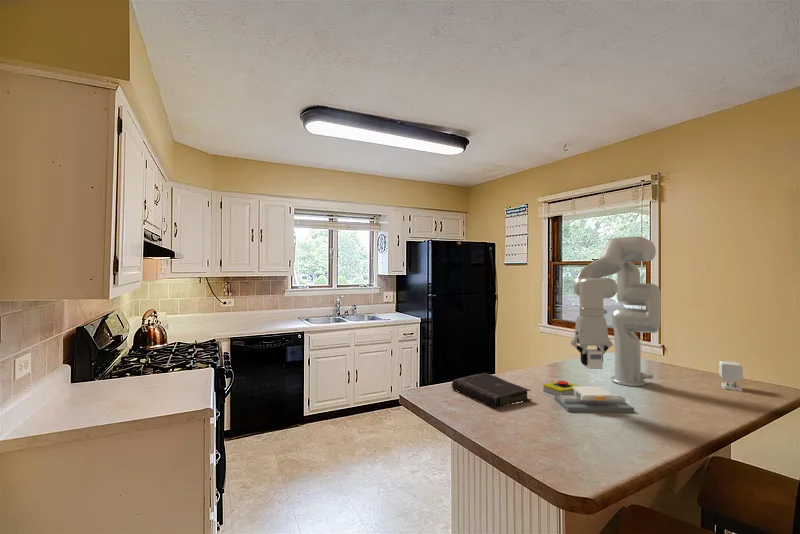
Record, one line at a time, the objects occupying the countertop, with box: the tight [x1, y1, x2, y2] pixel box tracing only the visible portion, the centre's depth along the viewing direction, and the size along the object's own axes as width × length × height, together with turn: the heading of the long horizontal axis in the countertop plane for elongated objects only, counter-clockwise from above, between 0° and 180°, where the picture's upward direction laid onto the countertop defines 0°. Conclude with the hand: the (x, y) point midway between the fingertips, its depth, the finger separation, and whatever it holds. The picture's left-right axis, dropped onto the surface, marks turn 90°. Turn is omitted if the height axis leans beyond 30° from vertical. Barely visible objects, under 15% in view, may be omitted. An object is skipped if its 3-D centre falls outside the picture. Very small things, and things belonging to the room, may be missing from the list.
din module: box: [581, 347, 604, 370], centre depth 134 cm, size 4×6×6 cm
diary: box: [451, 372, 532, 410], centre depth 146 cm, size 19×25×5 cm
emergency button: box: [538, 380, 579, 399], centre depth 149 cm, size 9×4×15 cm
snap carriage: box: [572, 385, 615, 401], centre depth 133 cm, size 10×11×2 cm
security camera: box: [718, 360, 744, 392], centre depth 153 cm, size 6×7×10 cm
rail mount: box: [554, 395, 635, 413], centre depth 134 cm, size 22×12×3 cm, turn 87°
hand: (591, 364), depth 134 cm, fingers closed on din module, 4 cm apart
